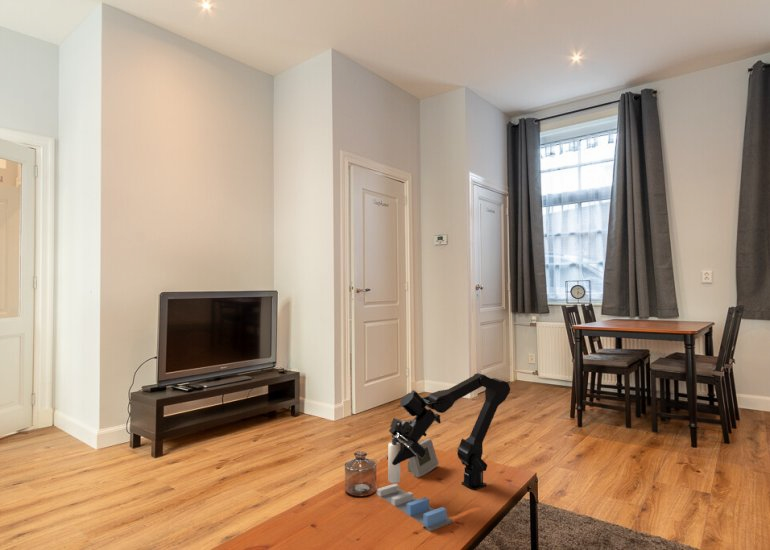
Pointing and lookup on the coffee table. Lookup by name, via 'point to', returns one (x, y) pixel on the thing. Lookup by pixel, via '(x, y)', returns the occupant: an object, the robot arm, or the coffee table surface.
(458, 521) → the coffee table surface
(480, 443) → the robot arm
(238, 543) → the coffee table surface
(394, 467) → the bottle
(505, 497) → the coffee table surface
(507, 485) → the coffee table surface
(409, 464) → the digital clock
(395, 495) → the slotted divider tray
